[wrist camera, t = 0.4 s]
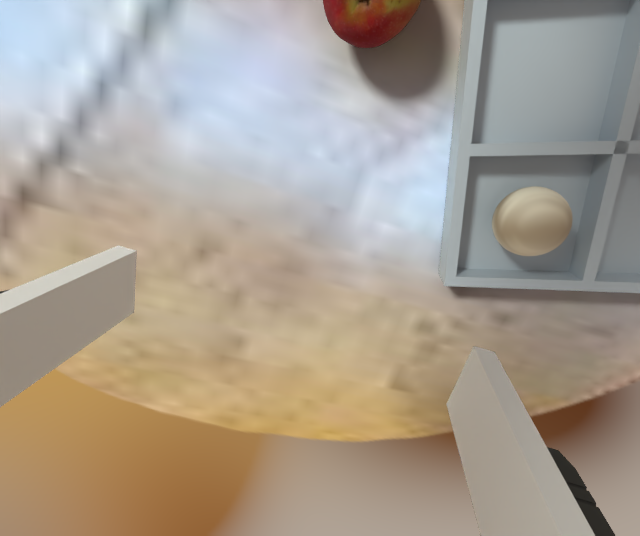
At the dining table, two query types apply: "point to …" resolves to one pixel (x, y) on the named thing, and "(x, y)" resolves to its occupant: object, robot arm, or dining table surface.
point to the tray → (546, 141)
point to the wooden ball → (532, 221)
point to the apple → (369, 19)
